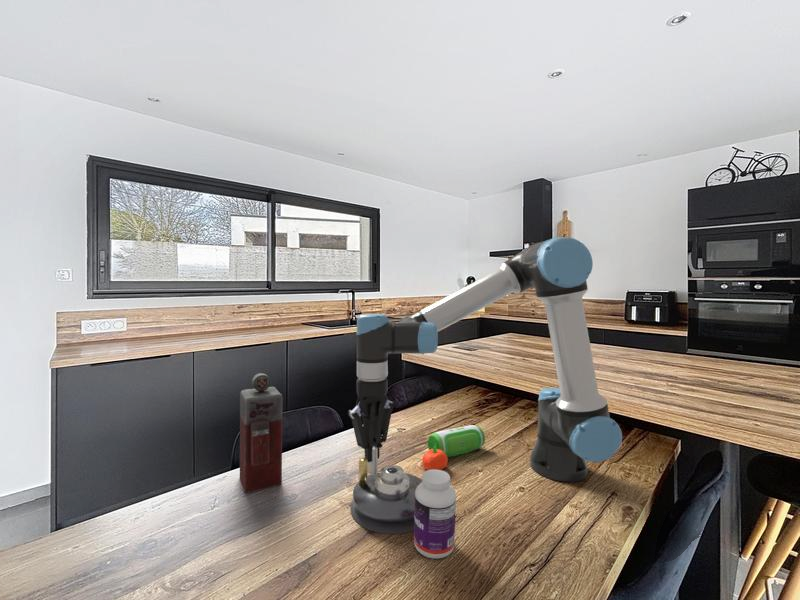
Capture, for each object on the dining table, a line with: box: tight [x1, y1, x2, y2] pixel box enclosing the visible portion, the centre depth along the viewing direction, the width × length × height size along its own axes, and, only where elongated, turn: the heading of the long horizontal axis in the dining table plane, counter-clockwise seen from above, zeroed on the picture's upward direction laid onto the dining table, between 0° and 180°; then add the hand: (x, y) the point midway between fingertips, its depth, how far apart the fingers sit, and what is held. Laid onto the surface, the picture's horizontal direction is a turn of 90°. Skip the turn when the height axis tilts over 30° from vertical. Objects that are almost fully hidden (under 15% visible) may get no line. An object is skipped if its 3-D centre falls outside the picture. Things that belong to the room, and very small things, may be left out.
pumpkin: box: [421, 446, 449, 471], centre depth 106 cm, size 7×8×6 cm
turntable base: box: [350, 500, 414, 535], centre depth 88 cm, size 19×19×2 cm
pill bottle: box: [413, 469, 457, 560], centre depth 75 cm, size 8×8×14 cm
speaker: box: [427, 424, 486, 458], centre depth 117 cm, size 18×7×8 cm, turn 119°
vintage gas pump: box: [239, 372, 284, 494], centre depth 97 cm, size 9×11×28 cm
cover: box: [375, 464, 409, 502], centre depth 87 cm, size 8×8×5 cm
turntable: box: [352, 457, 422, 524], centre depth 88 cm, size 18×18×8 cm
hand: (372, 472), depth 93 cm, fingers closed
